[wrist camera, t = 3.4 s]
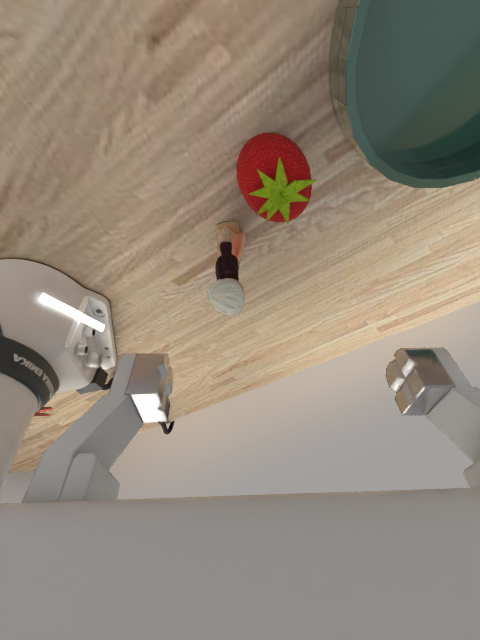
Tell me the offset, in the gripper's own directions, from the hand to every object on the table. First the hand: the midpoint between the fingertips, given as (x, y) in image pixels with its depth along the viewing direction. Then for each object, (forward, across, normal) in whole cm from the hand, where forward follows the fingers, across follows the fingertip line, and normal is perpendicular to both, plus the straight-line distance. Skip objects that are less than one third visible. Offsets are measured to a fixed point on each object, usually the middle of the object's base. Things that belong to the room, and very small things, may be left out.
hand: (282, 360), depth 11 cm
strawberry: (+25, -2, +1) cm, 25 cm away
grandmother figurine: (+25, +2, +9) cm, 27 cm away
